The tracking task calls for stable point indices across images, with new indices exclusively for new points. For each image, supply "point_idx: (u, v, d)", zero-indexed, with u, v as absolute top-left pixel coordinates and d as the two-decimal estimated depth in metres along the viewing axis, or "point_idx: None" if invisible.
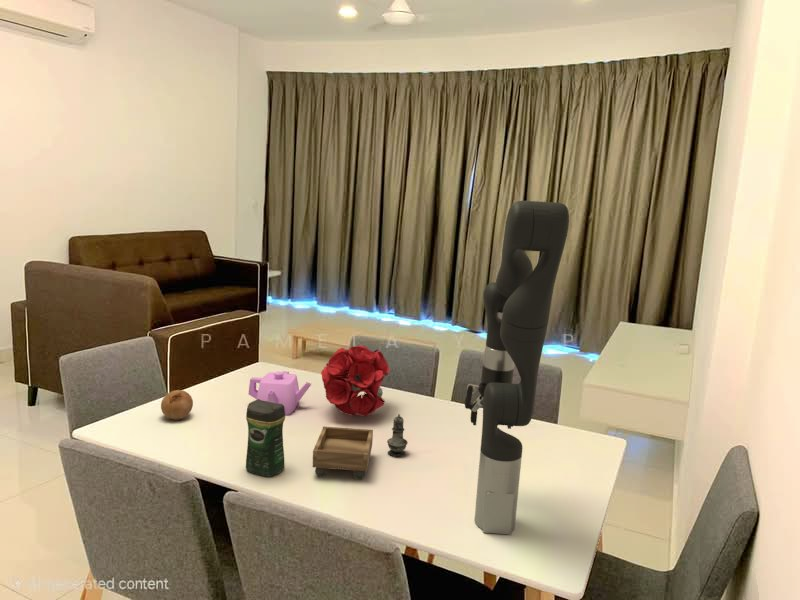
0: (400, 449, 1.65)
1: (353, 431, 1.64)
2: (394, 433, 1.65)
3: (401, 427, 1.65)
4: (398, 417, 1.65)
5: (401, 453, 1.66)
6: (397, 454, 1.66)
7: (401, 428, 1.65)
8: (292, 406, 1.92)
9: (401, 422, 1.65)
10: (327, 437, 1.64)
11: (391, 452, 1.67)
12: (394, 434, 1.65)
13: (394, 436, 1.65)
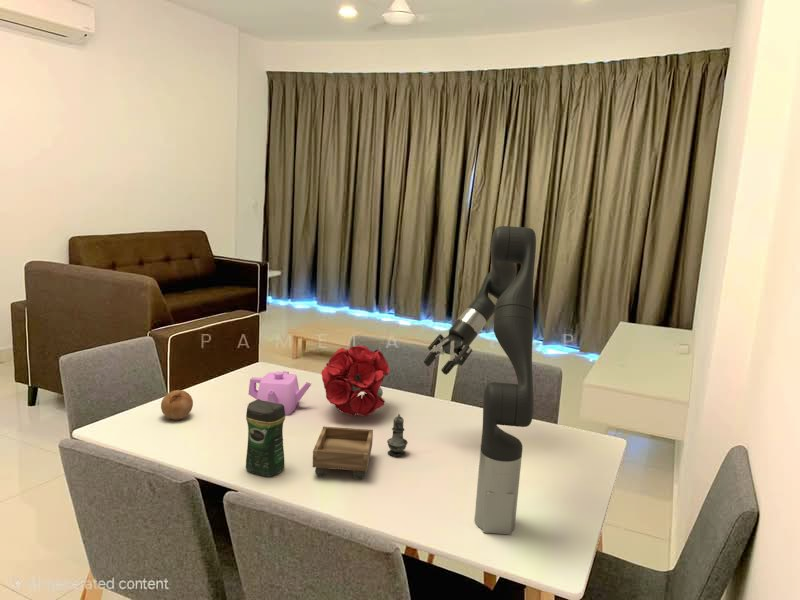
0: (400, 449, 1.65)
1: (353, 431, 1.64)
2: (394, 433, 1.65)
3: (401, 427, 1.65)
4: (398, 417, 1.65)
5: (401, 453, 1.66)
6: (397, 454, 1.66)
7: (401, 428, 1.65)
8: (292, 406, 1.92)
9: (401, 422, 1.65)
10: (327, 437, 1.64)
11: (391, 452, 1.67)
12: (394, 434, 1.65)
13: (394, 436, 1.65)
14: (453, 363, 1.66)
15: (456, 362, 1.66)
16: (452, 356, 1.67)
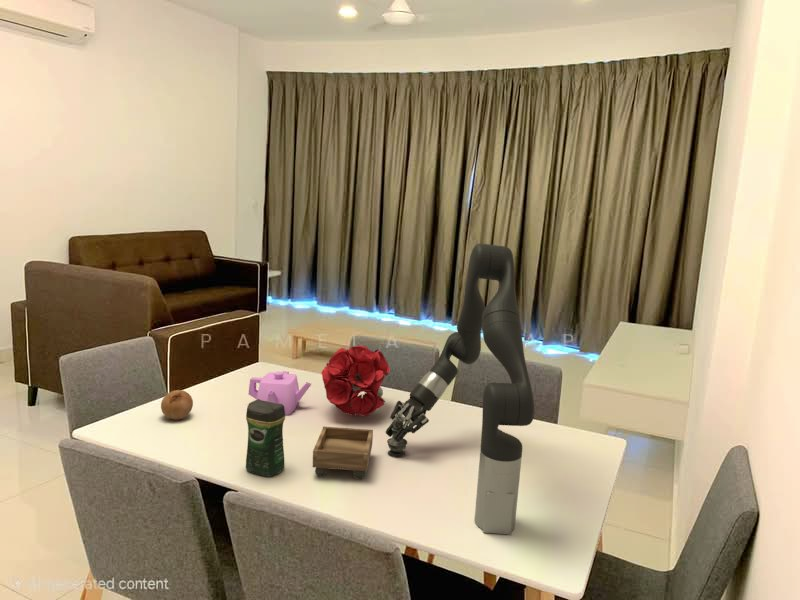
0: (400, 449, 1.65)
1: (353, 431, 1.64)
2: (394, 433, 1.65)
3: (401, 427, 1.65)
4: (398, 417, 1.65)
5: (401, 453, 1.66)
6: (397, 453, 1.66)
7: None
8: (292, 406, 1.92)
9: (401, 422, 1.65)
10: (327, 437, 1.64)
11: (391, 452, 1.67)
12: (394, 434, 1.65)
13: None
14: (404, 431, 1.64)
15: (408, 430, 1.63)
16: (405, 423, 1.64)
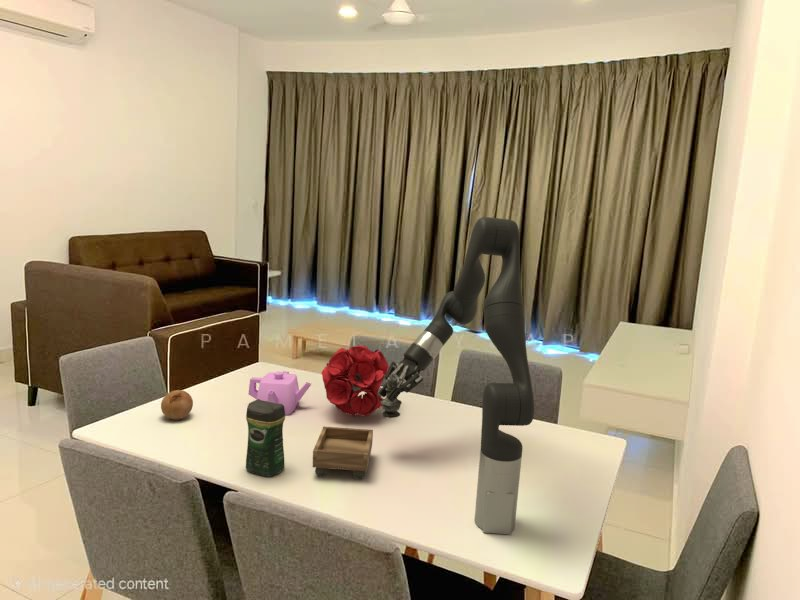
0: (394, 409, 1.61)
1: (353, 431, 1.64)
2: (388, 393, 1.61)
3: (395, 386, 1.61)
4: (392, 376, 1.61)
5: (395, 414, 1.63)
6: (391, 414, 1.62)
7: None
8: (292, 406, 1.92)
9: (395, 381, 1.61)
10: (327, 437, 1.64)
11: (385, 413, 1.63)
12: (388, 394, 1.61)
13: None
14: (398, 390, 1.60)
15: (402, 389, 1.59)
16: (399, 383, 1.60)
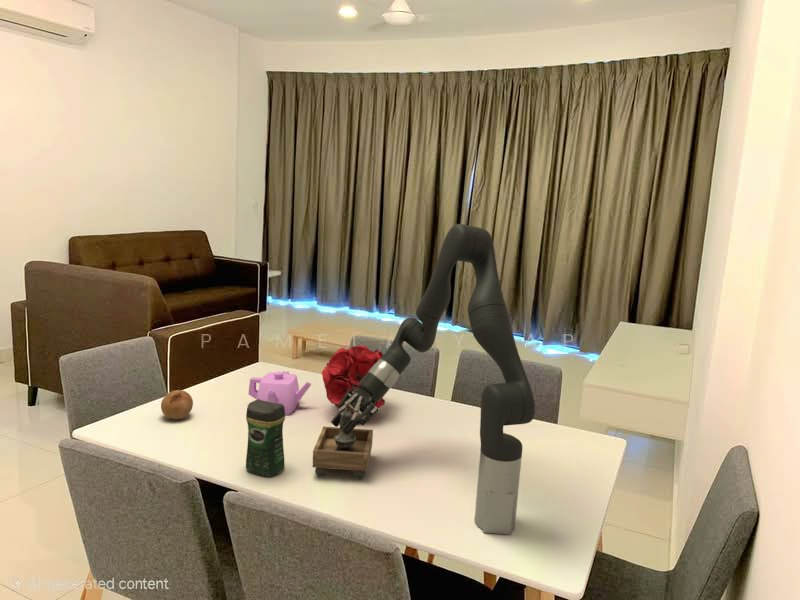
0: (347, 445, 1.55)
1: (353, 431, 1.64)
2: (341, 428, 1.55)
3: None
4: (345, 411, 1.55)
5: (349, 450, 1.56)
6: (344, 450, 1.56)
7: None
8: (292, 406, 1.92)
9: (348, 417, 1.54)
10: (327, 437, 1.64)
11: (338, 449, 1.57)
12: (341, 429, 1.55)
13: (341, 431, 1.55)
14: (354, 423, 1.53)
15: (357, 422, 1.52)
16: (354, 415, 1.53)
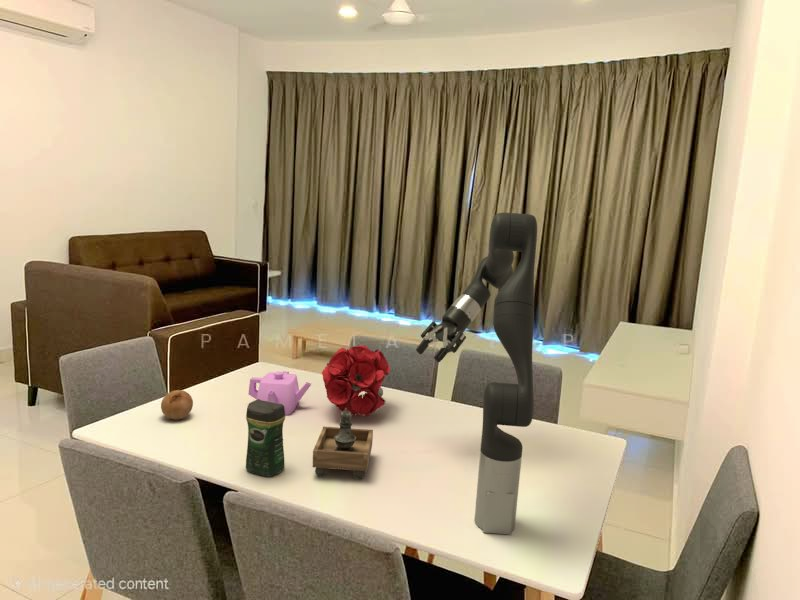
0: (347, 445, 1.55)
1: (353, 431, 1.64)
2: (341, 428, 1.55)
3: (348, 422, 1.55)
4: (345, 411, 1.55)
5: (349, 450, 1.56)
6: (344, 450, 1.56)
7: (348, 423, 1.55)
8: (292, 406, 1.92)
9: (348, 417, 1.54)
10: (327, 437, 1.64)
11: (338, 449, 1.57)
12: (341, 429, 1.55)
13: (341, 431, 1.55)
14: (446, 350, 1.61)
15: (449, 349, 1.60)
16: (445, 343, 1.61)
